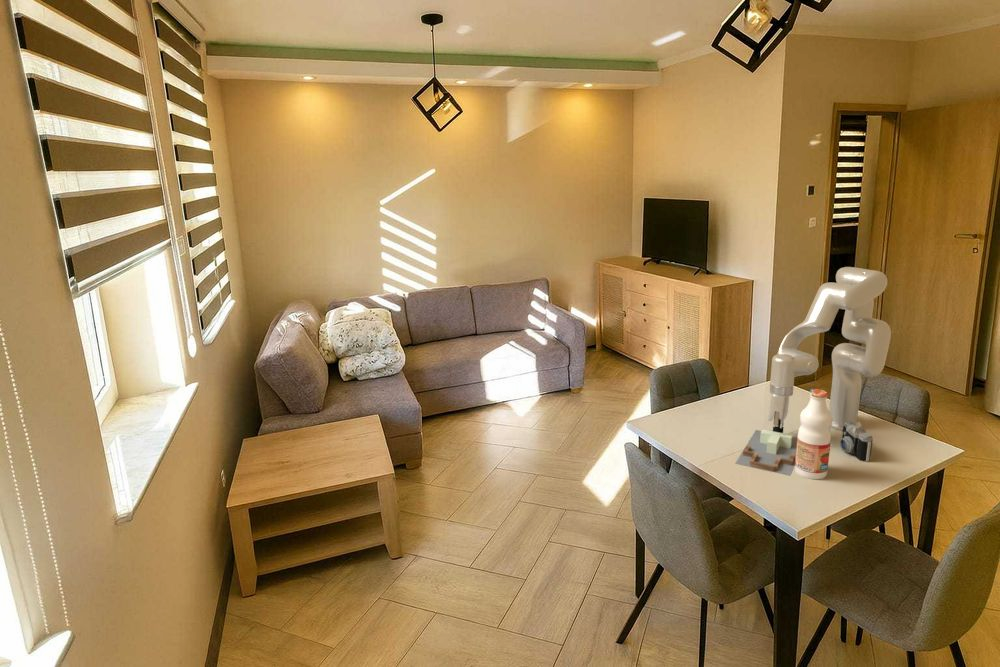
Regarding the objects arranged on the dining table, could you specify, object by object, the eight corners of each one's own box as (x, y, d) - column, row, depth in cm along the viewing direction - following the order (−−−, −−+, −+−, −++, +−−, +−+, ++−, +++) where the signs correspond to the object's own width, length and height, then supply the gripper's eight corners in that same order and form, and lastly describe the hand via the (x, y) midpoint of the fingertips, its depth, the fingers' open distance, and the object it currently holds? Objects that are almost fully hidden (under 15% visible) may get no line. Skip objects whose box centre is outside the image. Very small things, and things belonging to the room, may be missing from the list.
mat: (755, 430, 228) (755, 429, 228) (805, 439, 219) (805, 439, 219) (735, 464, 204) (735, 463, 203) (790, 476, 194) (790, 475, 194)
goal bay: (747, 448, 214) (747, 444, 213) (794, 458, 205) (795, 454, 205) (737, 463, 203) (738, 459, 203) (787, 474, 195) (788, 470, 194)
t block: (761, 439, 220) (762, 429, 219) (791, 445, 215) (792, 434, 213) (755, 450, 212) (756, 439, 211) (786, 456, 207) (787, 446, 205)
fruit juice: (793, 464, 202) (800, 385, 194) (825, 468, 198) (833, 387, 191) (795, 477, 193) (803, 395, 186) (828, 482, 190) (837, 398, 182)
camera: (830, 443, 216) (833, 416, 213) (850, 442, 215) (853, 416, 213) (851, 462, 201) (854, 434, 199) (872, 462, 201) (876, 434, 198)
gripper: (774, 381, 222) (770, 427, 227) (765, 394, 210) (761, 442, 215) (796, 384, 218) (792, 431, 223) (788, 397, 206) (784, 447, 211)
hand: (777, 436), depth 219 cm, fingers closed
